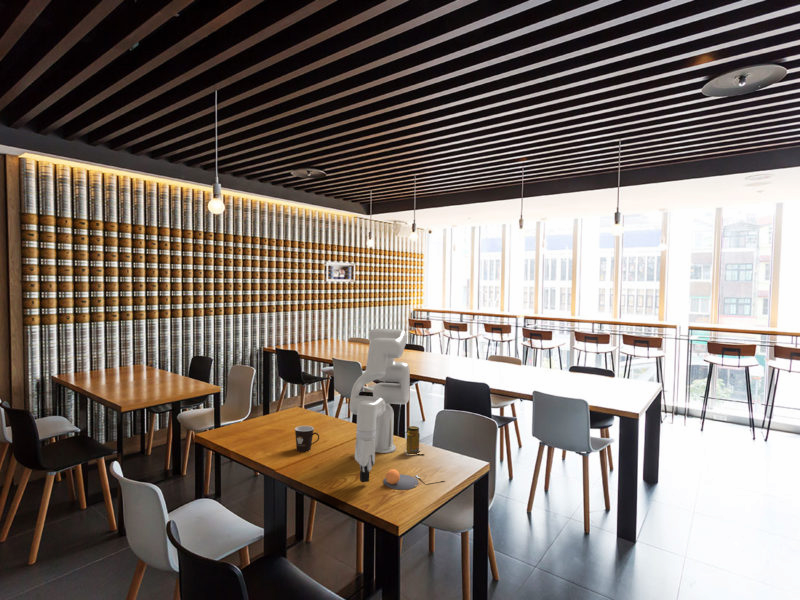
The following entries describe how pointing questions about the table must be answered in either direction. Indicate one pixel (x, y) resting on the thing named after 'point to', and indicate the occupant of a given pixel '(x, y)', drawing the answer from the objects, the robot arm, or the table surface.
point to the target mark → (403, 483)
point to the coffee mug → (304, 438)
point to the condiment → (412, 440)
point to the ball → (392, 476)
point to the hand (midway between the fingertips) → (364, 481)
